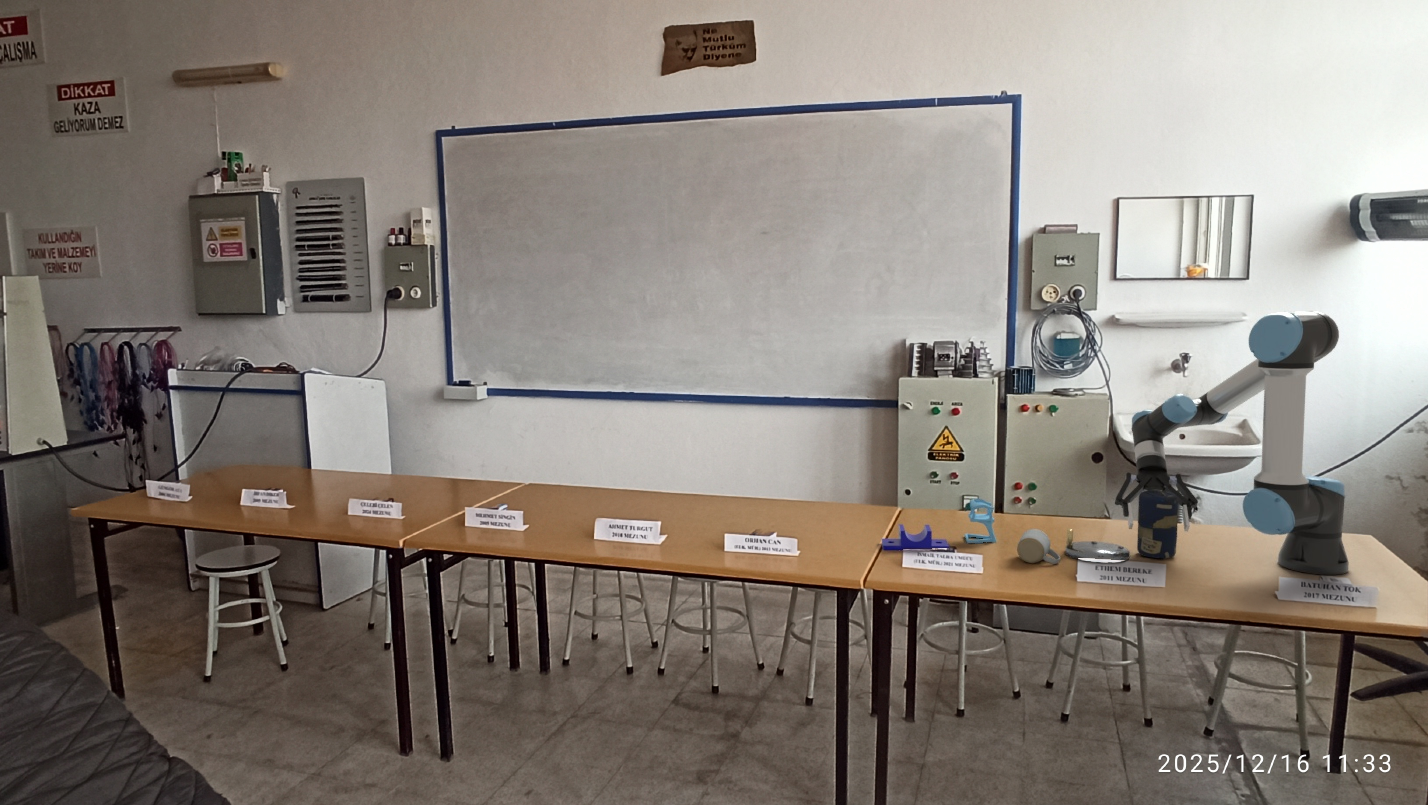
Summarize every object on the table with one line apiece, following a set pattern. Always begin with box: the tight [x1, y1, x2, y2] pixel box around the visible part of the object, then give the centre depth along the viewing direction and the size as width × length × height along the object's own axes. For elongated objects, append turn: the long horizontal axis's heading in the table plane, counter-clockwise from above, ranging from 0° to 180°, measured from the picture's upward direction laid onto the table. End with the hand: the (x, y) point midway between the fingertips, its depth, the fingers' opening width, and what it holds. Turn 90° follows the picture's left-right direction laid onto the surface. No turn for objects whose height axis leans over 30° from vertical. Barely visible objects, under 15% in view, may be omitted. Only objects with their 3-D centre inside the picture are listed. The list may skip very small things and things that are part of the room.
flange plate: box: [1065, 528, 1131, 561], centre depth 255 cm, size 16×16×6 cm
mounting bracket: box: [881, 523, 950, 552], centre depth 266 cm, size 18×7×6 cm, turn 83°
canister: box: [1136, 489, 1179, 559], centre depth 252 cm, size 10×10×18 cm
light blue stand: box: [964, 498, 997, 544], centre depth 271 cm, size 8×8×12 cm
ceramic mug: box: [1016, 528, 1061, 565], centre depth 251 cm, size 11×8×8 cm
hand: (1158, 527), depth 250 cm, fingers open, 13 cm apart
